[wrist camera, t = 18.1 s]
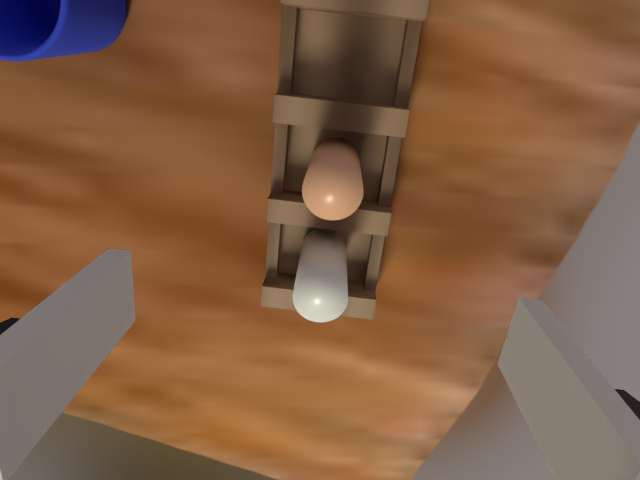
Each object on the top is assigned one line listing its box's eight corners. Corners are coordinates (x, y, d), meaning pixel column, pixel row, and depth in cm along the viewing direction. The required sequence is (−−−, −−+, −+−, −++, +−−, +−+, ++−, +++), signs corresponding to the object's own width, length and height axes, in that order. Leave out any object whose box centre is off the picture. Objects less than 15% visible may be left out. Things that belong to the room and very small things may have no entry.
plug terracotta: (309, 182, 38) (299, 216, 29) (314, 135, 36) (304, 157, 28) (356, 187, 38) (359, 223, 29) (362, 140, 36) (367, 164, 28)
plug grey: (301, 266, 41) (292, 320, 33) (302, 226, 39) (292, 272, 31) (344, 268, 41) (346, 323, 32) (347, 228, 39) (349, 275, 31)
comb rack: (268, 284, 43) (260, 306, 39) (289, -22, 33) (282, -32, 29) (370, 296, 43) (372, 319, 39) (422, -6, 33) (432, -15, 29)
